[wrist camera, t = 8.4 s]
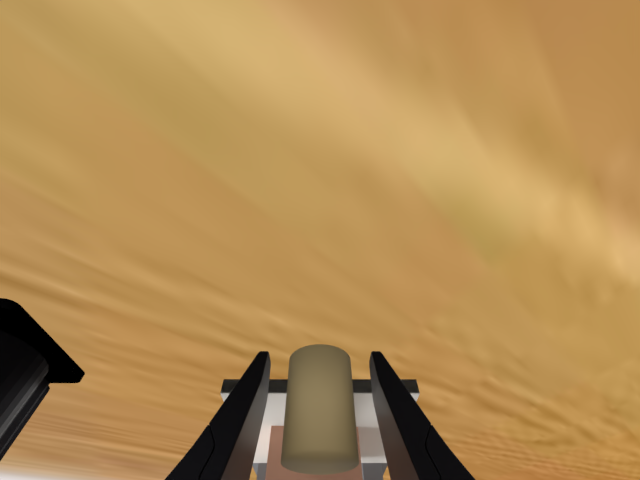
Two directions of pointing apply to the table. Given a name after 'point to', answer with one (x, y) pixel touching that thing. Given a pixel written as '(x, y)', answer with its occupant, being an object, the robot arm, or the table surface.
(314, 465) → the toy joystick
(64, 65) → the table surface
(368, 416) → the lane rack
